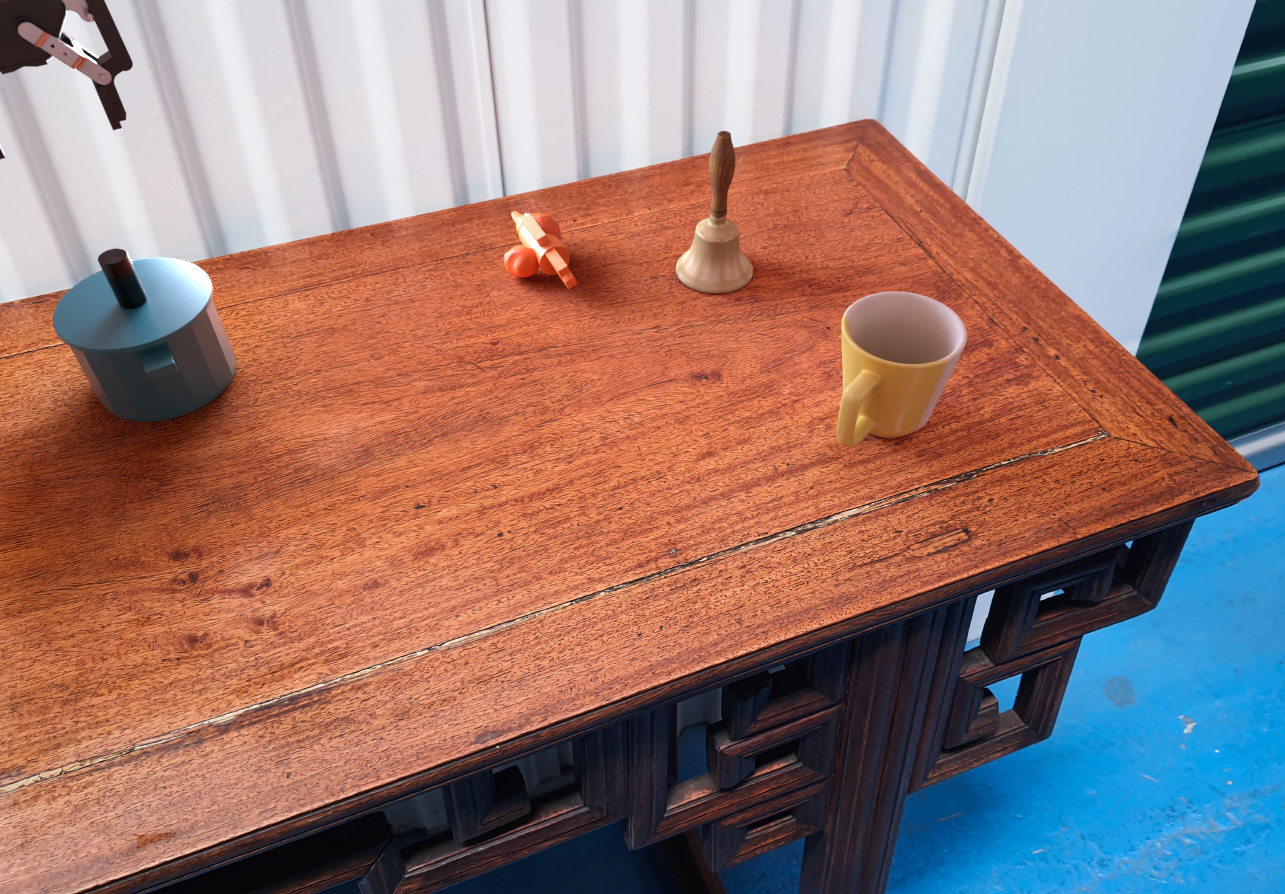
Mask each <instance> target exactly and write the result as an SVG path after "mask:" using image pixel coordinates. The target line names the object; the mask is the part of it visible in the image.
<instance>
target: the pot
mask: <svg viewBox="0 0 1285 894" xmlns="http://www.w3.org/2000/svg"><path fill="white" fill-rule="evenodd" d="M130 260H131V261H133V260H134V259H130ZM69 347H70V349H71V351H72V353H73V354H74V357H75V358H76V360H77V362H78V364H79V366H80V368H81V369H82V371H83V373H84V375H85V377H86V378H87V381H88V382H89V384H90V386H91V387H92V389H93V391H94V393H95V395H96V397H97V399H98V401H99V402H100V404H101V405H102V406H103V407H104V408H105V409H106V410H107V411H108V412H109V413H111V414H112V415H114V416H116V417H118V418H121V419H122V420H127V421H131V422H138V423H139V422H141V423H150V422H151V423H153V422H160V421H167V420H172V419H175V418H180V417H183V416H185V415H188V414H190V413H193V412H195V411H197V410H199V409H201V408H202V407H205V406H206V405H207V404H210V402H212V401H213V400H215V399H216V398H217V397H219V396H220V395H221V394H222V393H223V392H224V391H225V389H226V388H227V387H229V385H230V383H231V382H232V380H233V378H234V376H235V373H236V367H237V361H236V355H235V353H234V350H233V348H232V345H231V342H230V339H229V337H228V335H227V332H226V330H225V327H224V325H223V322H222V320H221V317H220V315H219V312H218V310H217V307H216V305H215V302H214V300H213V298H212V301H211V304H210V306H209V308H208V309H207V311H206V312H205V313H204V315H203V316H202V317H201V318H200V319H199V320H198V321H197V322H196V323H195V324H193V325H192V326H191V327H190V328H188V329H187V330H185V331H184V332H182V333H181V334H179V335H177V336H175V337H174V338H172V339H169V340H167V341H165V342H163V343H160V344H158V345H155V346H152V347H149V348H145V349H142V350H137V351H133V352H127V353H119V354H96V353H88V352H84V351H80V350H77V349H75V348H72V347H71V346H69Z"/></svg>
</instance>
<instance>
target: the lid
mask: <svg viewBox="0 0 1285 894" xmlns="http://www.w3.org/2000/svg"><path fill="white" fill-rule="evenodd" d="M131 260H133V261H131ZM97 262H98V264H99V267H100V269H101V270H99V271H97V272H95V273H93V274H91V275H89V276H87V277H85V278H83V279H82V280H80V281H79V282H78V283H76V284H74V286H72V287H71V288H70V289H69V290H68V291H67V292H65V294H64V295H63V296H62V297H61V298H60V300H59V301H58V302H57V304H56V306H55V308H54V311H53V314H52V325H53V329H54V331H55V333H56V334H57V336H58V338H59V339H60V340H61V341H62V342H63V343H64V344H66V345H67V346H69V347H70V346H71V347H72V348H75V349H77V350H80V351H84V352H88V353H96V354H119V353H127V352H133V351H137V350H142V349H145V348H149V347H152V346H155V345H158V344H160V343H163V342H165V341H167V340H169V339H172V338H174V337H175V336H177V335H179V334H181V333H182V332H184V331H185V330H187V329H188V328H190V327H191V326H192V325H193V324H195V323H196V322H197V321H198V320H199V319H200V318H201V317H202V316H203V315H204V313H205V312H206V311H207V309H208V308H209V306H210V304H211V301H212V299H213V297H214V286H213V283H212V281H211V278H210V276H209V275H208V273H206V271H205V270H204V269H203V268H201V267H200V266H199V265H196V264H194V263H192V262H190V261H186V260H183V259H178V258H172V257H171V258H170V257H147V258H140V259H139V258H138V259H131V258H130V255H129V253H128V251H127V250H126V249H124V248H119V247H115V248H110V249H108V250H107V249H106V250H105V251H103V252H101V253H100V254H99V255H98V256H97ZM71 347H70V348H71Z"/></svg>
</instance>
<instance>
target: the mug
mask: <svg viewBox="0 0 1285 894" xmlns="http://www.w3.org/2000/svg"><path fill="white" fill-rule="evenodd" d="M840 327H841V329H840V331H841V333H840V334H841V336H840V337H841V339H840V340H841V364H842V395H841V399H840V403H839V408H838V409H839V410H838V416H837V424H836V433H835V435H836V442H837V443H838V444H839V445H842V447H843V446H844V447H846V448H855V447H856V446H857V445H858V444H860V442H862V441H863V440H864V439H865V438H866V436H868V435H869V434H870V435H872V436H875V437H878V438H885V439H895V438H900V437H904V436H906V435H909V434H912V433H915V432H917V431H919V430H920V429H922V428H923V427H924V426H925V425H926V424H927V423H928V421H930V418H931V416H932V414H933V412H934V410H935V407H936V406H937V403H938V401H939V400H940V398H941V396H942V395H943V394H942V393H943V392H944V389H945V388H946V385H947V383H948V381H949V380H950V378H951V376H952V374H953V372H954V370H955V368H956V366H957V364H958V362H959V361H960V357H961V355H962V353H963V351H964V349H965V347H966V345H967V341H968V333H967V328H966V326H965V323H964V322H963V320H962V319H961V317H960V316H959V315H958V314H957V313H956V312H955V311H954V310H953V309H952V308H951V307H949V306H948V305H946V304H944V303H943V302H942V301H939V300H937V299H934V298H932V297H930V296H926V295H922V294H920V293H914V292H908V291H894V290H893V291H892V290H891V291H881V292H875V293H872V294H869V295H866V296H863V297H861V298H859V299H856V301H854V302H853V303H851V304H850V305H849V306H848V308H847V309H846V310H845V312H844V314H843V316H842V319H841V325H840Z"/></svg>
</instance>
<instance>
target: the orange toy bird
mask: <svg viewBox="0 0 1285 894" xmlns="http://www.w3.org/2000/svg"><path fill="white" fill-rule="evenodd" d="M510 214H511V218H512V220H513V222H514V223H515V228H516V233H517V235H518V238H519V240H520V242H521V243H522V245H521V244H519V245H514V246H513V247H512V248H511V249H509V250H508V251H507V252H505V253H504V255H503V262H504V267H505V271H507V272H508V273H509V274H511V275H512V276H514V277H519V278H528V277H531V276H533V275H535V274H536V273H537V272H538V271H539V269H540V270H541V271H542V272H543V273H544V274H546V275H548V276H551V275H552V276H553V275H558V277H559V279H560V280H561V281H562V282H563V284H564V285H565V287H566V288H567V289H568V290H570V289H571V288H573V287H575V286H576V285H578V282H577V280H576V278H575V276H574V274H573V273H572V272H571V270H570V267H568V265H569V263H570V260H571V254H570V252H569V250H568V248H567V247H565V244H564V243H562V241H561V240H562V232H561V227H560V224H559V222H558V221H557V220H556V219H554V218H553V217H552V216H550V215H548V214H545V213H543V212H532V213H530V212H525V213H520V212H518V211H516V210H513V211H512V212H511V213H510Z"/></svg>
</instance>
